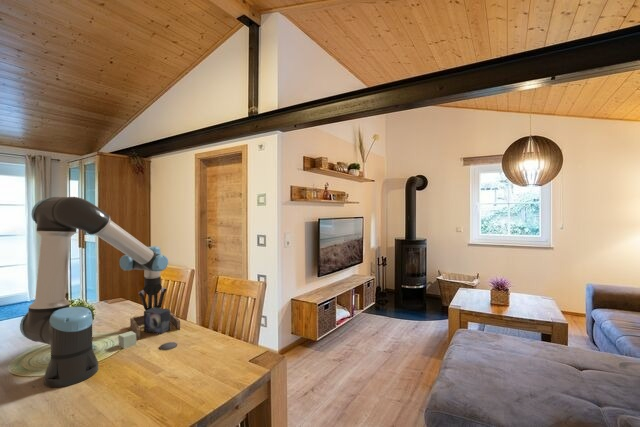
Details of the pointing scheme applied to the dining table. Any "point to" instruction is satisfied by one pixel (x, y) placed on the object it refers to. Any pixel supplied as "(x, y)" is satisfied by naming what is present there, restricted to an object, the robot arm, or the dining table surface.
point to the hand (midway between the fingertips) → (153, 322)
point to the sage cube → (127, 339)
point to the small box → (157, 320)
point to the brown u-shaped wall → (139, 320)
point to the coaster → (168, 346)
